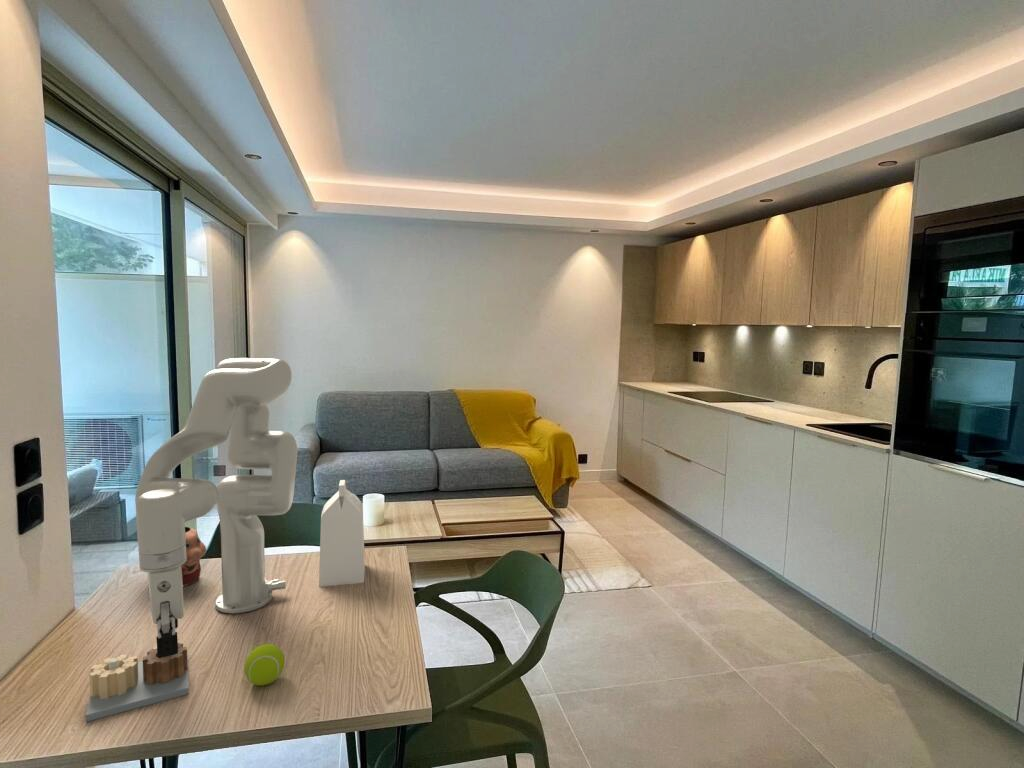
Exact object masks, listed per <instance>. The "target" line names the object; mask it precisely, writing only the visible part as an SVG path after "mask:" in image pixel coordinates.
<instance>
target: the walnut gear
mask: <svg viewBox="0 0 1024 768" xmlns="http://www.w3.org/2000/svg"><path fill="white" fill-rule="evenodd" d="M142 661H143V681H144V680H147V684H150V685H153V684H154V683H160V682H162V684H165V683H169V682H170V680H172V679H174V678H175V677H176V678H180V677H181V676H182V675H184V670H187V669H188V670H189V665H188V666H187V661H188V647H187V646H185V647H184V643H181V642H180V643H179V642H178V653H177V654H174V655H170V656H167V657H163V658H158V655H157V648H151V649H150V650H148V651H147V652H146V655H144V656H142Z"/></svg>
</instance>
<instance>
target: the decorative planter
mask: <svg viewBox="0 0 1024 768" xmlns="http://www.w3.org/2000/svg"><path fill="white" fill-rule="evenodd" d="M198 534H199V533H198V531H197V530H196V529H194V528H192V527H190V526H186V525H185V537H186V555H187V560H186V562H185V563H184V564H182V565H181V569H182V584H183V587H186V586H187V585H188V586H189V585H190V584H193V583H194V582H196V581H197V580H199V579H200V575H201V570H202V569H201V562H200V561H201V558H203V557H204V556H205V555H206V553H207V547H206V545H205V543H204V542H203V541H202V540H201V539H200V537H199V535H198Z"/></svg>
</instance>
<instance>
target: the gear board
mask: <svg viewBox="0 0 1024 768" xmlns="http://www.w3.org/2000/svg"><path fill="white" fill-rule="evenodd" d="M138 660H139V659H138V657H137V656H136V655H133V656H129V654H126V653H125V654H120V655H119V656H115V657H111V656H110V657H107V658H104V659H102V662H100V663H99V664H94V665H93V666H92V667H90V673H89V691H90V692H89V699H88V704H87V709H86V713H85V722H87V723H88V722H90V721H91V722H92V721H94V720H98V719H102V718H106V717H108V716H113V715H116V714H117V715H118V714H120V713H124V712H126V711H131V710H133V709H139V708H141V707H142V708H143V707H146V706H149V705H152V704H156V703H160V702H163V701H168V700H170V699H171V700H172V699H175V698H178V697H182V696H186V695H189V694H190V693H189V689H190V688H189V671H188V670H189V668H188V669H187V670H184V675H182V676H181V677H180V678H176V677H175V678H174V679H172V680H170V682H169V683H165V684H162V682H160V683H154V684H153V685H150V684H147V680H144V681H143V660H141V661H138ZM188 662H189V661H188V660H187V666H188V667H189V665H188Z"/></svg>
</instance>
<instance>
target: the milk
mask: <svg viewBox="0 0 1024 768" xmlns="http://www.w3.org/2000/svg"><path fill="white" fill-rule="evenodd" d="M320 515H321V516H320V517H321V518H320V532H319V533H320V539H319V540H320V541H319V542H320V543H319V566H318V567H319V571H318V572H319V574H318V587H328V586H341V585H351V584H352V585H355V584H364V583H365V571H366V569H365V567H366V561H365V559H366V558H365V556H366V555H365V536H364V535H365V534H364V533H365V532H364V529H365V528H364V508H363V503H362V501H361V500H360V498H359V497H358V496H357V494H355V493H353V492H351V491H350V490H348V488H347V486H346V479H340V480H339V484H338V491H337V492H335V494H334V495H332V497H330V498H329V499H328V500H327V502H326V503H325V504H324V505H323V507H322V511H321V514H320Z"/></svg>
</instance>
